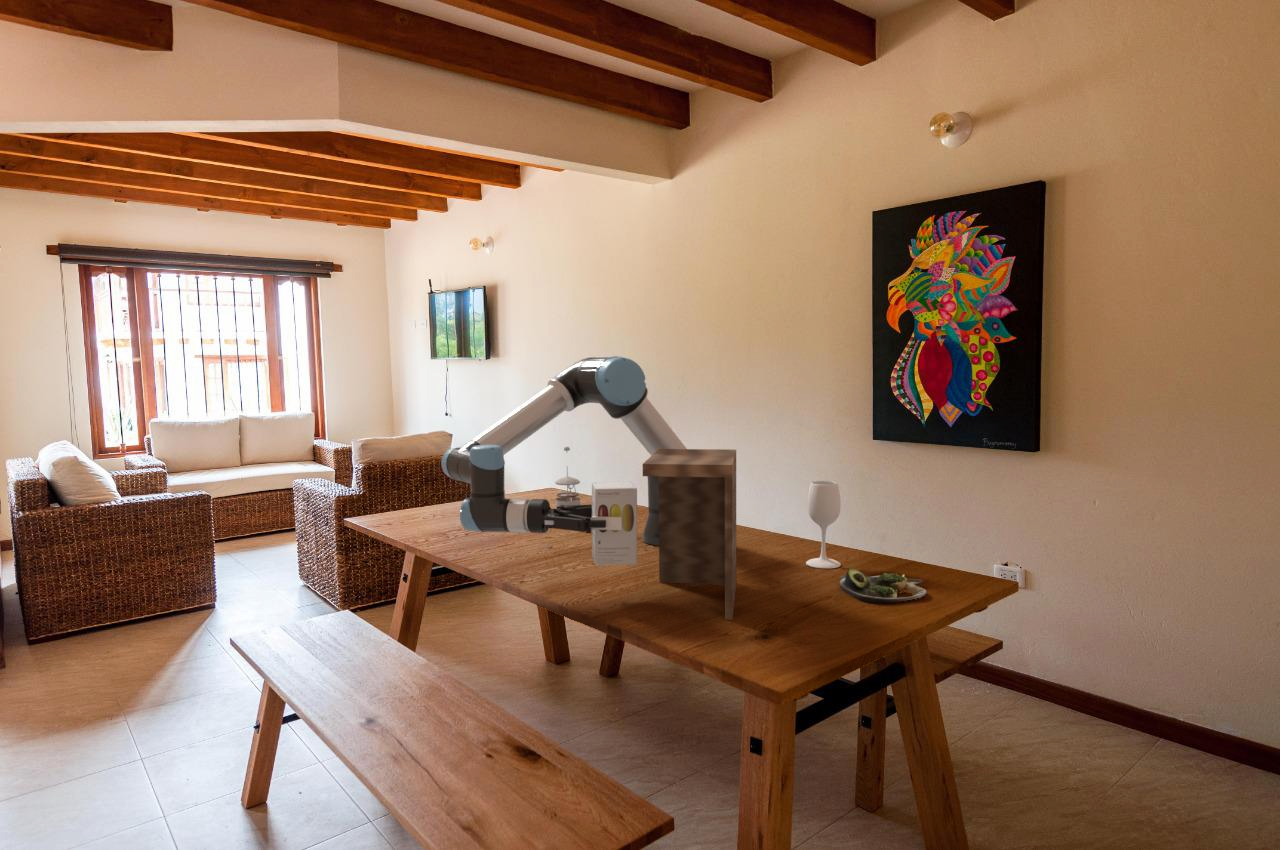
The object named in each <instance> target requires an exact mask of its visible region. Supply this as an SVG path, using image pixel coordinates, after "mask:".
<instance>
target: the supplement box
mask: <svg viewBox="0 0 1280 850" xmlns="http://www.w3.org/2000/svg"><path fill="white" fill-rule="evenodd" d="M591 504H592V516H604V517H622V530H593V529H592V528H591V556H592V559H593V563H594V566H622V565H623V566H624V565H637V564H638V489H637V486H635V484H634V483H633V482H632V481H623V482H622V481H618V482H617V481H615V482H614V481H613V482H611V481H609V482H606V481H605V482H592V483H591Z"/></svg>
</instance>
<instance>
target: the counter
mask: <svg viewBox="0 0 1280 850" xmlns="http://www.w3.org/2000/svg"><path fill="white" fill-rule="evenodd" d="M647 476H658V487H659V546H658V565H659V566H658V571H659V573H658V577H659V578H658V579H659V581H658V583H669V584H695V585H696V584H699V585H724V621H725V620H726V621H732V620H733V619H734V609H735V600H736V599H735V597H736V590H737V449H719V448H718V449H714V448H713V449H709V448H705V449H703V448H702V449H701V448H699V449H697V448H693V449H692V448H687V449H658V450H657V451H656V452H655V453H654V454H653V455H652V456H651V455H650V457H648V459H646V460H645V461H644V462H643V463H642V477H647Z"/></svg>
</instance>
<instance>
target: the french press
mask: <svg viewBox="0 0 1280 850" xmlns="http://www.w3.org/2000/svg"><path fill="white" fill-rule="evenodd" d="M563 451H566V452H568V451H571V448H570V447H569V446H565V447H564V448H563ZM568 470H569V469H568V467H566V476H564V477H560V478H558V479H556V481H554V484H555V485H556V486H557V485H559V486H566V490H567V491H566V492H559V493H557V494H556V497H557V498H555V508H557V506H560V505H581V498H580V497H578V496H579V495H580V494H579V493H578V492H577V491H576V486H575V485H579V484H580V483H581V481H580V480H579V479H577V478H574V477H572V476H568V475H569V474H568V473H569V472H568ZM571 486H572V487H571ZM571 489H574V491H573V492H572V490H571Z"/></svg>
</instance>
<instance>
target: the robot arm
mask: <svg viewBox="0 0 1280 850" xmlns="http://www.w3.org/2000/svg"><path fill="white" fill-rule="evenodd" d="M646 379H647V378H646V375H645V373H644V370H643V369H642V368H641V366H640V365H639V364H638V363H637V362H636V361H634V360H633V359H630V358H627V357H623V356H608V357H607V356H606V357H593V356H592V357H586V358H582V359H580V360H579V361H576V362H574V363H573V364H571V365H570V366H568V367H566V368H565V369H564V370H562V371H561V372H559V373H558V374H556V375H555V376H554V377H552V378H551V379H550V380H548V382H547V385H546V387H545V388H543V389H542V390H541V391H539V392H538V393H537V394H535V395H534V396H532V397H531V398H529V399H528V400H527V401H525V402H524V403H523V404H521V405H520V406H518V407H517V408H515V409H514V410H513V411H511V412H510V413H509V414H507V415H506V416H504V417H503V418H501V419H500V420H498V421H497V422H495V423H494V424H492V426H490V427H489V428H487V429H485V430H484V431H483V432H481V433H480V434H478V435H477V436H476V437H475V438H473V439H472V440H470V441H468V442H467V443H465V444H464V445H463V446H461V447H454V448H450V449H448V450H446V451H445V453H444V455H442V458H441V466H440V467H441V469H442V471H443V473H444V475H446V477H449V478H451V479H452V480H454V481H457V482H458V481H459V482H463V483H467V484H470V497H466V498H464V499H463V500H462V502H461V505H460V512H459V520H460V524H461V526H462V527H463V529H465V530H466V531H473V532H480V533H488V532H491V533H498V532H499V533H500V532H501V533H515V535H517V536H518V535H520V534H521V533H528V532H530V533H531V534H545V533H547V532H548V531H549V529H556V530H557V529H559V530H566V531H573V532H581V533H585V534H592V529H593V530H622V517H604V516H592V503H591V504H580V505H560V506H557V507H554V508H551V505H550V501H549V500H548V499H545V498H544V499H543V498H541V499H540V498H532V499H529V498H507V497H506V496H505V495H506V491H505V463H506V462H505V456H504V455H506V454H507V453H509V452H510V451H512V450H513V449H514V448H516V447H517V446H519V444H521V443H523V442H524V441H526V440H527V439H528V438H529V437H531V436H532V435H534V434H535V433H536V432H538V431H539V430H540V429H542V428H543V427H544V426H546V425H547V424H549V423H550V422H551V421H553V420H554V419H556V418H557V417H559V415H561V414H562V413H563V412H571V411H574V410H575V409H576V408H577V407H579V406H583V405H585V404H589V403H592V404H593V403H594V404H599V405H601V406H602V408H603V409H604V410H605V411H606V412H607V414H608V415H609V416H610V417H611V418H612V419H616V420H621V421H622V422H623V424H625V426H626V428H628V430H629V431H630V432H631V433H632V435H634V437H635V438H636V439H637V440H638V442H639V443H640V444H641V446H643V448H644V449H645V450H646V452H647V453H648V454H649V455H650V457H651V456H652V455H653V454H654V453H655V452H656V451H657V450H658V449H688V448H687V447H686V446H685V444H684V443H683V442H682V440H681V439H680V438H679V437H678V436H677V434H676V432H674V430H673V429H672V428H671V426H670V425H669V424H668V423H667V421H666V420H665V418H663V416H662V415H661V414H660V413H659V411H658V410H657V409H656V407H655V406H654V405H653V404H652V402H651V401H650V400H649V398H648V393H649V389H648V388H647V382H645V380H646ZM646 477H647V499H648V501H647V504H648V508H647V509H648V510H647V511H648V512H647V513H648V514H647V517H646V521H645V525H644V527H643V531H642V542H643V543H645V544H649V545H653V546H658V547H659V487H658V476H646Z"/></svg>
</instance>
